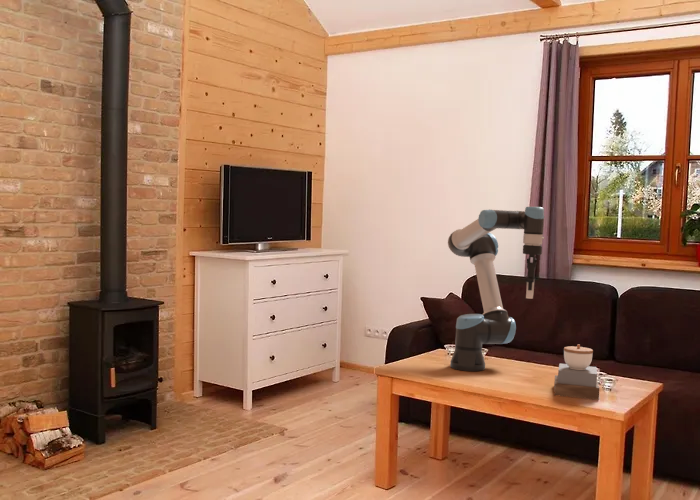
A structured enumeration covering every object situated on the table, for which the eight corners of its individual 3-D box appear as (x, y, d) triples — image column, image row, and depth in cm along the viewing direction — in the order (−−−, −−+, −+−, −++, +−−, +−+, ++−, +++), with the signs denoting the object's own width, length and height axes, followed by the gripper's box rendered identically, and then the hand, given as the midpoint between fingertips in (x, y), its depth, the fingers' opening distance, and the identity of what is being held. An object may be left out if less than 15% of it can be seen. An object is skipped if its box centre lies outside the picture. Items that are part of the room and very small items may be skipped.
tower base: (554, 387, 296) (554, 375, 296) (596, 391, 292) (596, 379, 292) (554, 396, 281) (555, 383, 281) (598, 401, 277) (599, 388, 277)
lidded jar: (568, 364, 293) (569, 341, 293) (595, 368, 287) (596, 344, 287) (559, 368, 284) (560, 344, 284) (587, 372, 278) (588, 347, 278)
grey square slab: (558, 375, 295) (559, 363, 295) (595, 379, 291) (596, 367, 291) (557, 383, 282) (558, 370, 281) (596, 387, 278) (597, 374, 277)
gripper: (542, 246, 287) (539, 300, 288) (542, 244, 311) (539, 294, 312) (522, 245, 289) (519, 299, 290) (524, 243, 313) (521, 292, 314)
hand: (529, 296), depth 301 cm, fingers open, 13 cm apart
